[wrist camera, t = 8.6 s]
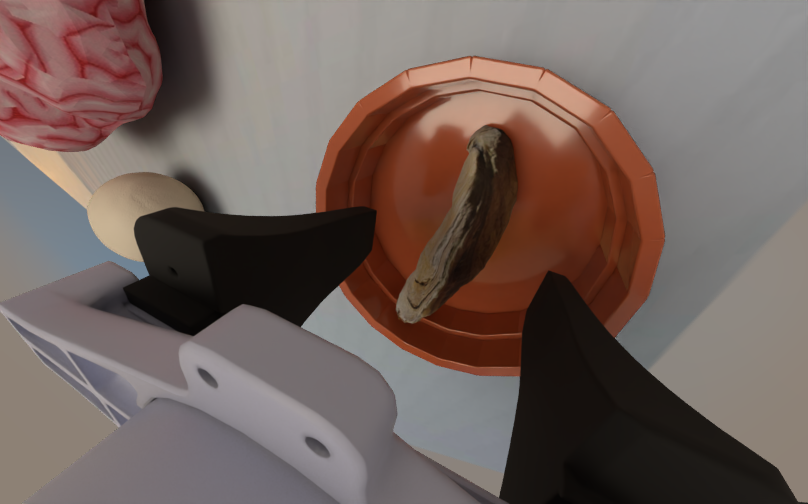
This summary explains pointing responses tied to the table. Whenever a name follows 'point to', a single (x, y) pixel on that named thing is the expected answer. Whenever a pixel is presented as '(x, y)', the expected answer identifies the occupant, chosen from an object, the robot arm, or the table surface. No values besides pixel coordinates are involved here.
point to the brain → (74, 70)
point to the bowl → (531, 215)
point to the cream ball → (134, 207)
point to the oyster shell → (465, 226)
